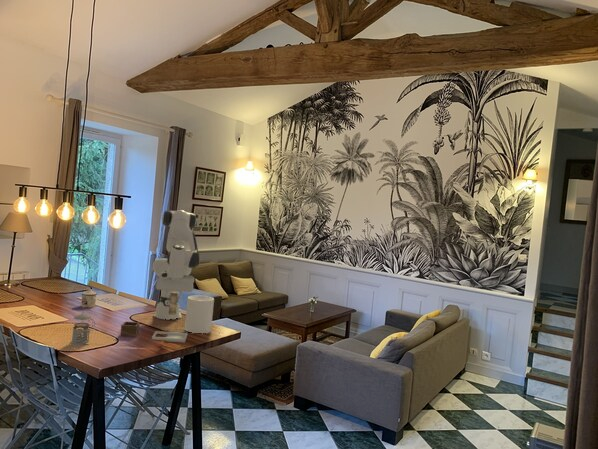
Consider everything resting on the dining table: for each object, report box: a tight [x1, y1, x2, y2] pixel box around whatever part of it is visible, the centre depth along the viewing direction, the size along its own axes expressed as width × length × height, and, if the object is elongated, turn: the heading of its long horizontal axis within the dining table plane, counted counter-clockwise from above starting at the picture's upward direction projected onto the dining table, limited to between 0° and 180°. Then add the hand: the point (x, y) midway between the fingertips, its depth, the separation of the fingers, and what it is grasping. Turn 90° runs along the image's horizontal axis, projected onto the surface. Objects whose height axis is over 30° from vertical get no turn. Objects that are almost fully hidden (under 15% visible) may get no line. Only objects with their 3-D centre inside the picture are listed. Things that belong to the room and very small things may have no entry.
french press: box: [69, 295, 96, 347], centre depth 226 cm, size 10×12×25 cm
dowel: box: [169, 292, 179, 315], centre depth 247 cm, size 4×4×12 cm
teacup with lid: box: [80, 288, 97, 309], centre depth 299 cm, size 12×9×12 cm
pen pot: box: [119, 320, 140, 338], centre depth 245 cm, size 8×8×7 cm
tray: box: [151, 330, 189, 343], centre depth 248 cm, size 12×18×2 cm, turn 99°
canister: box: [184, 294, 215, 335], centre depth 270 cm, size 16×16×20 cm
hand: (173, 298), depth 248 cm, fingers closed on dowel, 4 cm apart
